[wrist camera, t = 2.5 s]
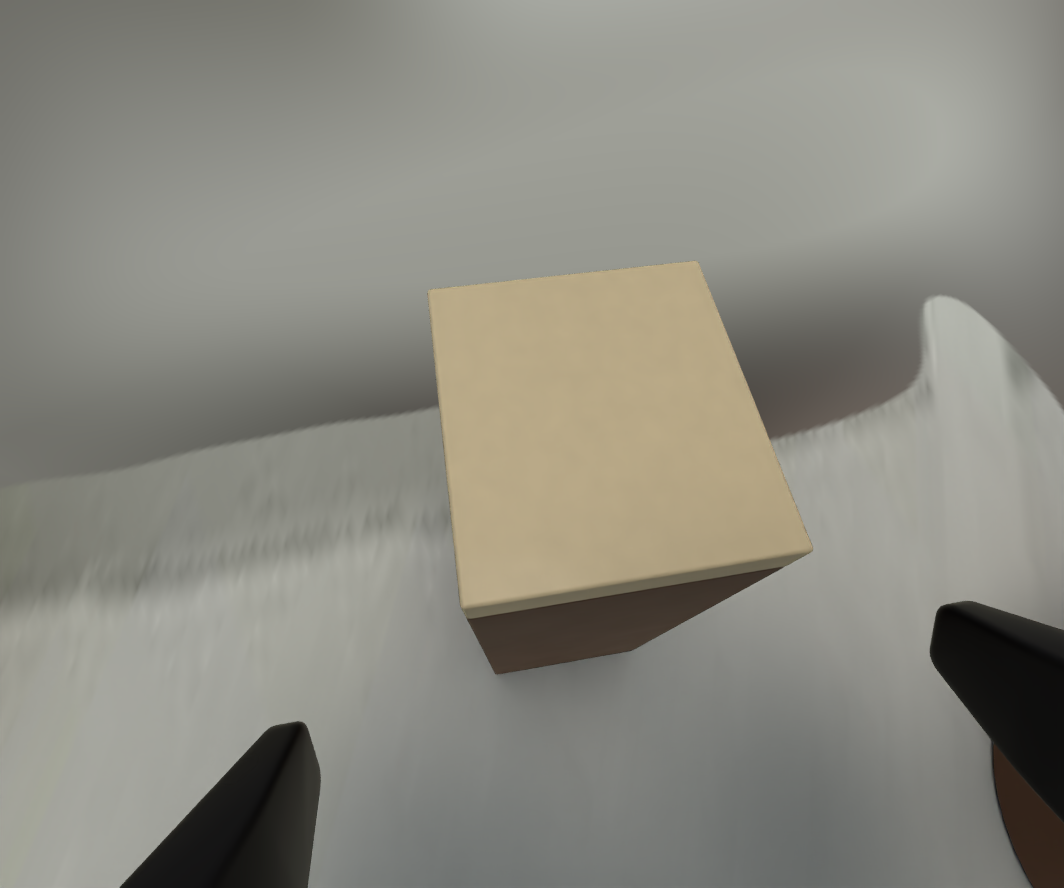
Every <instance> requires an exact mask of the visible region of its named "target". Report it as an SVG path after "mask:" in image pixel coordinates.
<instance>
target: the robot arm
mask: <svg viewBox="0 0 1064 888" xmlns="http://www.w3.org/2000/svg"><path fill="white" fill-rule="evenodd" d="M930 657H931V660H932V662H933V664H934V666H935V668H936V669H937V671H938V672H939V673H940V675H941V676H942V677H943V678H944V680H945V681H946V682H947V684H948V685H949V686H950V687H951V689H952V690H953V691H954V692H955V694H956V695H957V696H958V698H959V699H960V700H961V701H962V703H963V704H964V705H965V707H966V708H967V709H968V710H969V712H970V713H971V714H972V715H973V717H974V718H975V719H976V721H977V722H978V723H979V724H980V726H981V727H982V728H983V730H984V731H985V732H986V733H987V735H988V736H989V737H990V738H991V740H992V741H993V742H994V744H995V745H996V746H997V747H998V749H999V750H1000V751H1001V753H1002V754H1003V755H1004V756H1005V757H1006V759H1007V760H1008V761H1009V762H1010V764H1011V765H1012V766H1013V767H1014V769H1015V770H1016V771H1017V772H1018V773H1019V774H1020V776H1021V777H1022V778H1023V779H1024V780H1025V781H1026V782H1027V783H1028V785H1029V786H1030V787H1031V788H1032V789H1033V790H1034V791H1035V792H1036V794H1037V795H1038V796H1039V797H1040V798H1041V799H1042V800H1043V801H1044V802H1045V803H1046V805H1047V806H1048V807H1049V808H1050V809H1051V810H1052V811H1053V812H1054V813H1055V814H1056V816H1057V817H1058V818H1059V819H1060V820H1061V821H1062V822H1063V823H1064V630H1061V629H1058V628H1055V627H1051V626H1048V625H1045V624H1042V623H1039V622H1036V621H1033V620H1030V619H1026V618H1023V617H1020V616H1017V615H1014V614H1011V613H1008V612H1005V611H1001V610H998V609H995V608H992V607H989V606H986V605H983V604H980V603H977V602H973V601H962V602H956V603H951V604H946V605H943V606H941V607H940V608H939V609H938V610H937V613H936V617H935V622H934V628H933V634H932V639H931V645H930ZM320 784H321V776H320V767H319V763H318V760H317V757H316V754H315V750H314V747H313V744H312V741H311V737H310V734H309V731H308V728H307V726H306V725H305V723H303V722H300V721H297V722H291V723H286V724H280V725H275V726H272V727H270V728H269V729H268V730H266V731H265V732H264V733H263V734H262V736H261V737H260V738H259V739H258V740H257V741H256V742H255V743H254V744H253V745H252V746H251V747H250V748H249V749H248V751H247V752H246V753H245V754H244V755H243V756H242V757H241V758H240V759H239V760H238V761H237V762H236V763H235V764H234V766H233V767H232V768H231V769H230V770H229V771H228V772H227V773H226V774H225V775H224V776H223V777H222V778H221V779H220V780H219V782H218V783H217V784H216V785H215V786H214V787H213V788H212V789H211V790H210V791H209V792H208V793H207V794H206V795H205V797H204V798H203V799H202V800H201V801H200V802H199V803H198V804H197V805H196V806H195V807H194V808H193V809H192V810H191V812H190V813H189V814H188V815H187V816H186V817H185V818H184V819H183V820H182V821H181V822H180V823H179V824H178V825H177V827H176V828H175V829H174V830H173V831H172V832H171V833H170V834H169V835H168V836H167V837H166V838H165V839H164V840H163V841H162V843H161V844H160V845H159V846H158V847H157V848H156V849H155V850H154V851H153V852H152V853H151V854H150V855H149V856H148V858H147V859H146V860H145V861H144V862H143V863H142V864H141V865H140V866H139V867H138V868H137V869H136V870H135V871H134V873H133V874H132V875H131V876H130V877H129V878H128V879H127V880H126V881H125V882H124V883H123V884H122V885H121V886H120V888H308V880H309V872H310V864H311V856H312V849H313V841H314V833H315V825H316V817H317V809H318V801H319V794H320Z"/></svg>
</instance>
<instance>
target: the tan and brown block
mask: <svg viewBox="0 0 1064 888" xmlns="http://www.w3.org/2000/svg"><path fill="white" fill-rule="evenodd" d="M427 295H428V304H429V313H430V323H431V333H432V342H433V352H434V361H435V371H436V380H437V390H438V399H439V409H440V419H441V428H442V438H443V447H444V457H445V466H446V476H447V485H448V495H449V504H450V514H451V523H452V533H453V542H454V552H455V561H456V571H457V580H458V590H459V599H460V606H461V608H462V610H463V612H464V614H465V616H466V618H467V620H468V622H469V624H470V626H471V628H472V629H473V631H474V633H475V635H476V637H477V639H478V641H479V643H480V645H481V647H482V649H483V651H484V653H485V655H486V657H487V658H488V660H489V662H490V664H491V666H492V668H493V670H494V672H495V674H503V673H509V672H514V671H520V670H526V669H531V668H537V667H543V666H548V665H554V664H559V663H565V662H571V661H576V660H582V659H588V658H593V657H599V656H604V655H610V654H616V653H621V652H627V651H632V650H634V649H636V648H637V647H639V646H641V645H643V644H645V643H647V642H648V641H650V640H652V639H654V638H656V637H658V636H659V635H661V634H663V633H665V632H667V631H668V630H670V629H672V628H674V627H676V626H678V625H679V624H681V623H683V622H685V621H687V620H689V619H690V618H692V617H694V616H696V615H698V614H700V613H701V612H703V611H705V610H707V609H709V608H710V607H712V606H714V605H716V604H718V603H720V602H721V601H723V600H725V599H727V598H729V597H731V596H732V595H734V594H736V593H738V592H740V591H741V590H743V589H745V588H747V587H749V586H751V585H752V584H754V583H756V582H758V581H760V580H762V579H763V578H765V577H767V576H769V575H771V574H772V573H774V572H776V571H778V570H780V569H782V568H783V567H784V566H787V565H789V564H791V563H793V562H794V561H796V560H798V559H800V558H802V557H804V556H805V555H807V554H809V553H811V552H812V551H813V547H812V544H811V542H810V539H809V537H808V534H807V532H806V529H805V527H804V524H803V522H802V519H801V517H800V514H799V512H798V509H797V507H796V504H795V502H794V499H793V497H792V494H791V492H790V489H789V487H788V484H787V482H786V479H785V477H784V474H783V472H782V469H781V467H780V464H779V462H778V459H777V457H776V454H775V452H774V449H773V447H772V444H771V442H770V439H769V438H768V434H767V432H766V429H765V427H764V425H763V422H762V420H761V417H760V415H759V412H758V410H757V407H756V405H755V402H754V400H753V397H752V395H751V392H750V390H749V387H748V385H747V382H746V380H745V377H744V375H743V372H742V370H741V367H740V365H739V362H738V360H737V357H736V355H735V352H734V350H733V347H732V345H731V342H730V340H729V337H728V335H727V332H726V330H725V327H724V325H723V322H722V320H721V318H720V315H719V312H718V310H717V308H716V305H715V303H714V300H713V298H712V295H711V293H710V290H709V288H708V285H707V283H706V280H705V278H704V275H703V273H702V270H701V268H700V265H699V263H698V262H697V261H688V262H680V263H670V264H661V265H651V266H642V267H633V268H623V269H614V270H605V271H596V272H586V273H577V274H568V275H559V276H549V277H540V278H531V279H522V280H513V281H504V282H495V283H485V284H475V285H466V286H457V287H447V288H438V289H430V290H429V291H428V293H427Z"/></svg>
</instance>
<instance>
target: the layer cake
mask: <svg viewBox="0 0 1064 888" xmlns="http://www.w3.org/2000/svg"><path fill="white" fill-rule="evenodd" d="M993 755H994V774H995V781H996V787H997V794H998V799H999V802H1000V806H1001V810H1002V814H1003V818H1004V822H1005V825H1006V827H1007V830H1008V833H1009V835H1010V838H1011V841H1012V844H1013V846H1014V849H1015V851H1016V853H1017V856H1018V858H1019V860H1020V862H1021V864H1022V866H1023V868H1024V870H1025V872H1026V875H1027V877H1028V879H1029V880H1030V882H1031V884H1032V885H1033V887H1034V888H1064V823H1063V822H1062V821H1061V820H1060V819H1059V818H1058V817H1057V816H1056V814H1055V813H1054V812H1053V811H1052V810H1051V809H1050V808H1049V807H1048V806H1047V805H1046V803H1045V802H1044V801H1043V800H1042V799H1041V798H1040V797H1039V796H1038V795H1037V794H1036V792H1035V791H1034V790H1033V789H1032V788H1031V787H1030V786H1029V785H1028V783H1027V782H1026V781H1025V780H1024V779H1023V778H1022V777H1021V776H1020V774H1019V773H1018V772H1017V771H1016V770H1015V769H1014V767H1013V766H1012V765H1011V764H1010V762H1009V761H1008V760H1007V759H1006V757H1005V756H1004V755H1003V754H1002V753H1001V751H1000V750H999V749H998V747H997V746H996V745H995V744H994V745H993Z"/></svg>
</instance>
